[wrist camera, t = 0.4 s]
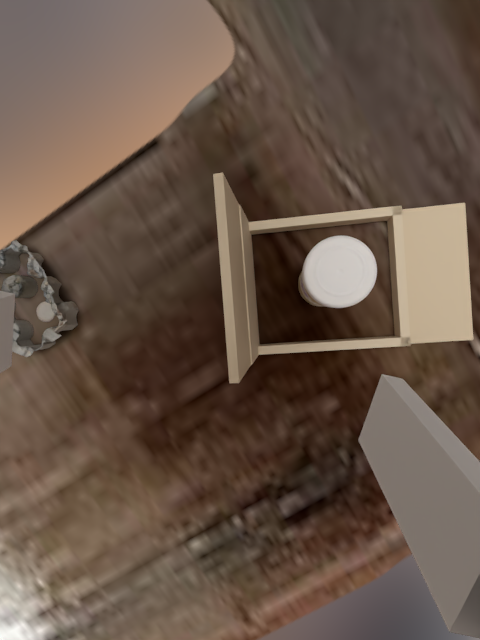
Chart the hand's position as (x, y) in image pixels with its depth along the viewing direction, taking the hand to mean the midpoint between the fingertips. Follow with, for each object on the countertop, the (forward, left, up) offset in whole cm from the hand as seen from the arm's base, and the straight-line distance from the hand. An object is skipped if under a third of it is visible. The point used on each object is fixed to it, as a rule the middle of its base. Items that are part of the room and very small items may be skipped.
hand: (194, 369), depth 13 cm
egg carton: (+6, -24, -25) cm, 35 cm away
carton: (-8, +7, -24) cm, 26 cm away
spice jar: (-6, +4, -24) cm, 26 cm away
